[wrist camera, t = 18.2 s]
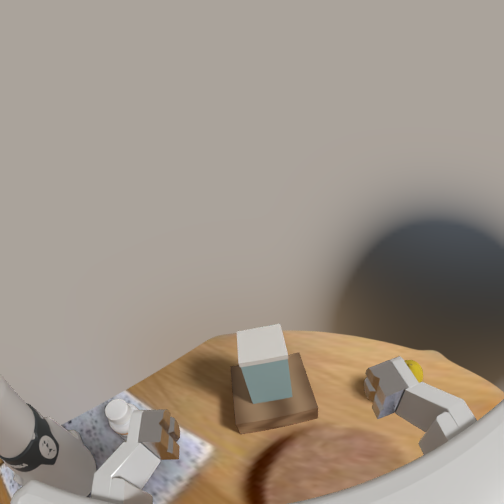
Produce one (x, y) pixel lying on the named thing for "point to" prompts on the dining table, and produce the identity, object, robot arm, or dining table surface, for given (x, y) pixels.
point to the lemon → (415, 369)
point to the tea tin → (264, 363)
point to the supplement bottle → (119, 416)
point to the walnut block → (274, 402)
